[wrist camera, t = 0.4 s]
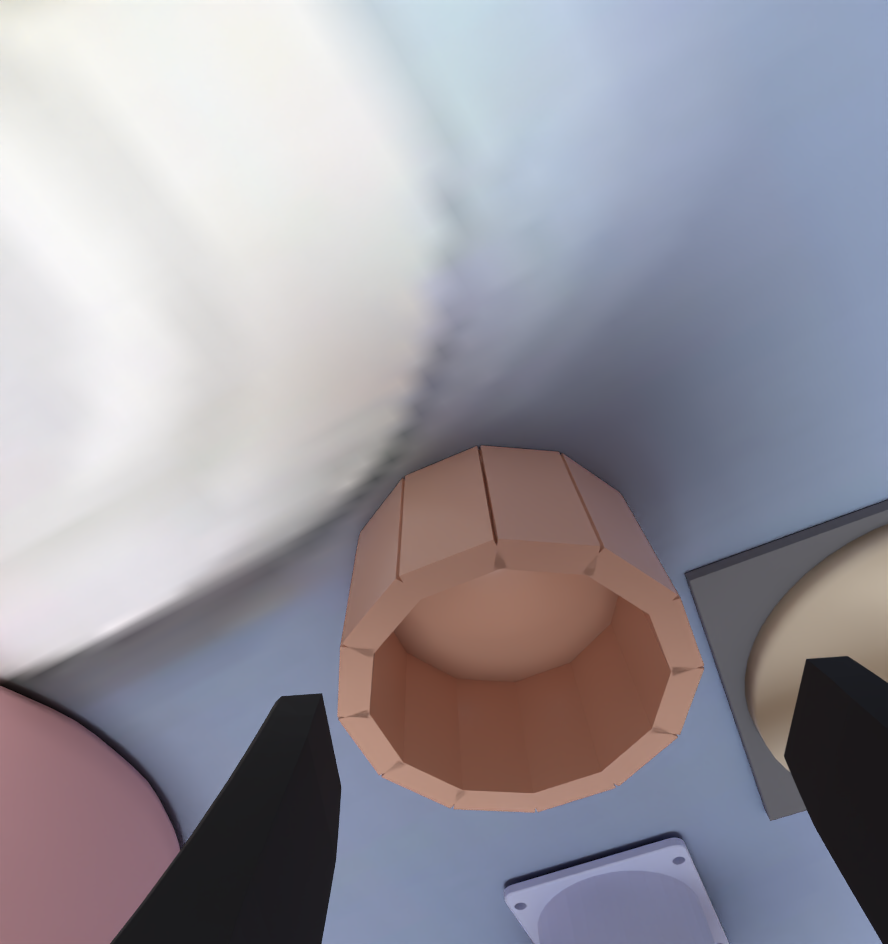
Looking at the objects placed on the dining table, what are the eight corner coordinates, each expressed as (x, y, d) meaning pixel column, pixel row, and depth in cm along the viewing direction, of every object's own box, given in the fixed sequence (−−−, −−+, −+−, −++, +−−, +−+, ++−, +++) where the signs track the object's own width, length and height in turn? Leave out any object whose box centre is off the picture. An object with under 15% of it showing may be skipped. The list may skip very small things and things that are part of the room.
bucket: (671, 627, 22) (733, 750, 17) (429, 712, 23) (430, 845, 19) (586, 400, 18) (639, 482, 14) (305, 517, 20) (270, 626, 15)
